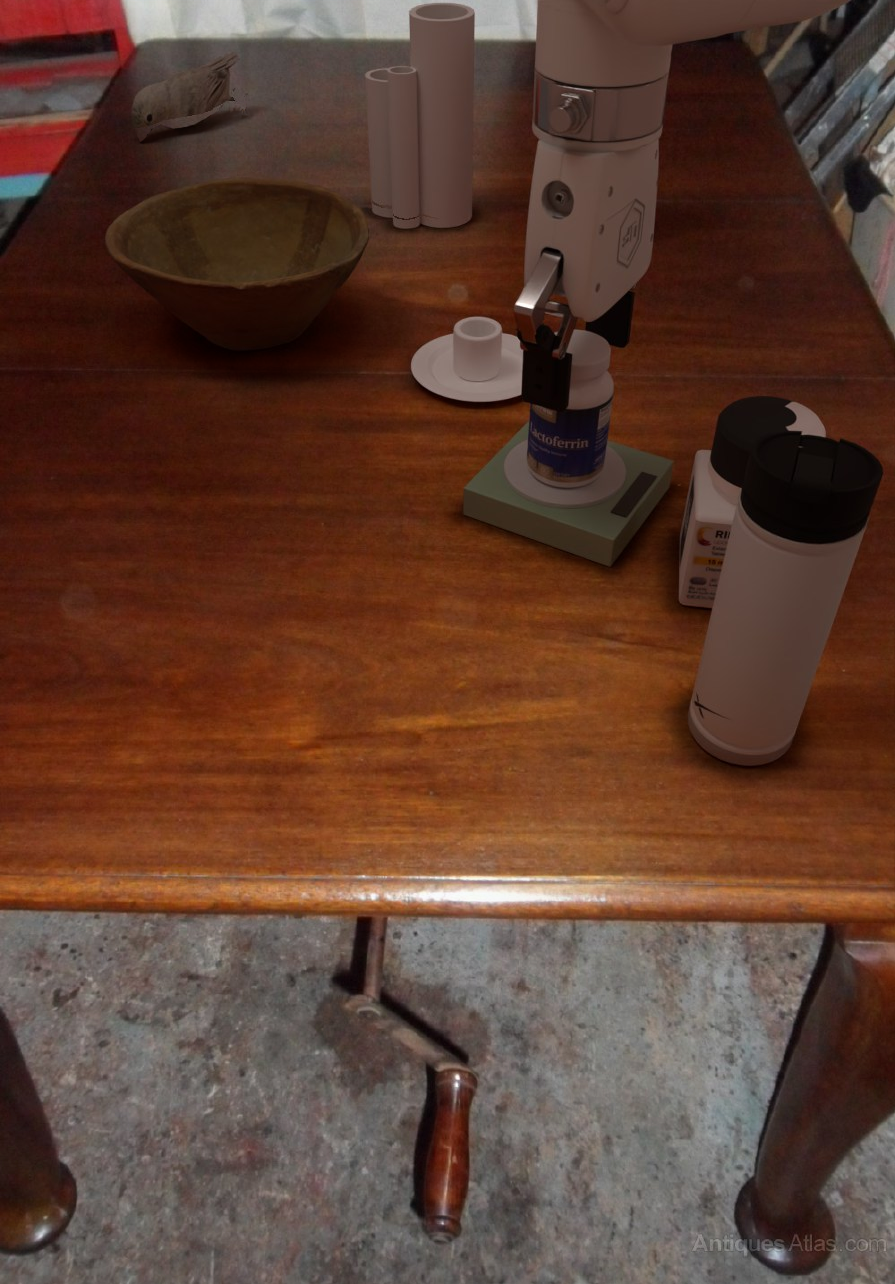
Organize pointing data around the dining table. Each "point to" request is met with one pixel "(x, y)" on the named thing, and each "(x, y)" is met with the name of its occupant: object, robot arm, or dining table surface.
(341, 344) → the dining table surface
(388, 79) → the vase
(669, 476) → the scale
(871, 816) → the dining table surface
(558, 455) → the pill bottle
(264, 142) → the dining table surface
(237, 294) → the bowl
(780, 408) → the container
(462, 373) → the candle holder
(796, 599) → the travel mug
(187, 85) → the decorative bird
